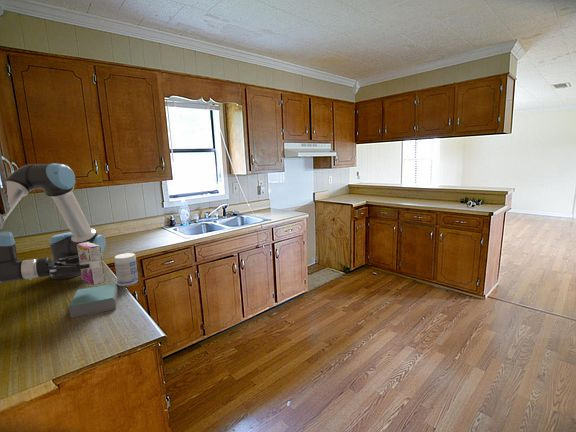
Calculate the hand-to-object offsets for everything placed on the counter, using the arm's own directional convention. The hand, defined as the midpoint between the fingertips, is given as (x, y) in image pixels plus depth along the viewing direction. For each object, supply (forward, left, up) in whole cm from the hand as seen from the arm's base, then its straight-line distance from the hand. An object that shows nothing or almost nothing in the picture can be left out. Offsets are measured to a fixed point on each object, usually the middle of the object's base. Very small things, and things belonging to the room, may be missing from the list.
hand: (100, 259), depth 133 cm
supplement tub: (-19, +8, -20) cm, 29 cm away
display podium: (+1, -4, -19) cm, 20 cm away
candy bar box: (0, -4, -9) cm, 10 cm away
